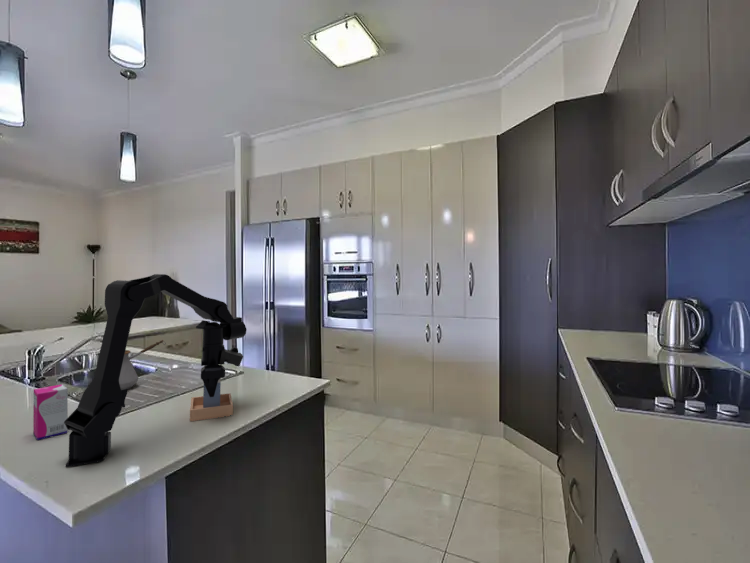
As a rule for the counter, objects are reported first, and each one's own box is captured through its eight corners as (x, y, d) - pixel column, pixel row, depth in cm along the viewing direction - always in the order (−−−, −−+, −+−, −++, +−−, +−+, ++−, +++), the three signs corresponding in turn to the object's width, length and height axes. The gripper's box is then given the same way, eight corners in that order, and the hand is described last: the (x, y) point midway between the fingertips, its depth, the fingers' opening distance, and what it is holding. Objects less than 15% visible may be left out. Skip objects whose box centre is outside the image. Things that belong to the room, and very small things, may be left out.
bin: (189, 421, 99) (190, 410, 99) (191, 407, 109) (191, 397, 109) (232, 415, 104) (233, 405, 103) (230, 402, 114) (230, 393, 114)
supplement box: (62, 426, 93) (63, 383, 93) (67, 433, 89) (68, 388, 89) (32, 433, 89) (33, 388, 89) (36, 441, 85) (37, 393, 85)
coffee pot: (107, 396, 116) (108, 350, 116) (91, 389, 122) (92, 346, 122) (172, 380, 135) (173, 341, 134) (156, 375, 141) (157, 338, 140)
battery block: (203, 408, 103) (203, 380, 103) (203, 402, 107) (203, 376, 107) (219, 405, 105) (220, 379, 105) (219, 401, 109) (220, 375, 109)
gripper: (244, 347, 101) (243, 401, 101) (239, 336, 118) (237, 382, 118) (201, 349, 96) (199, 406, 96) (201, 337, 113) (200, 386, 113)
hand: (211, 394), depth 106 cm, fingers closed on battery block, 4 cm apart
